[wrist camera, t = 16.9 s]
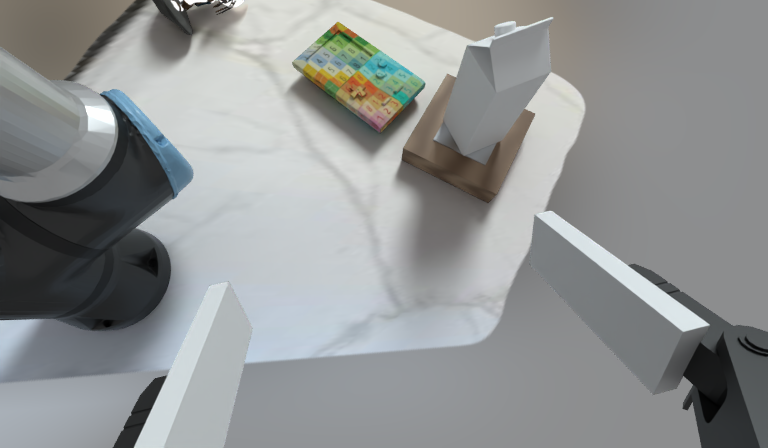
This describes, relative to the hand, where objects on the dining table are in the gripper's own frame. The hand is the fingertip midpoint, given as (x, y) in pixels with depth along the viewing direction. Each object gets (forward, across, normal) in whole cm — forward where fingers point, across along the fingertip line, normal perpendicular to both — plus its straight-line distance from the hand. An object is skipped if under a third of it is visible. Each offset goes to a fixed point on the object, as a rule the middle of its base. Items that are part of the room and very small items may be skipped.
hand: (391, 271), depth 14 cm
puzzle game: (+52, +4, +1) cm, 52 cm away
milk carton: (+38, +20, -6) cm, 43 cm away
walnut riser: (+41, +20, -9) cm, 46 cm away
